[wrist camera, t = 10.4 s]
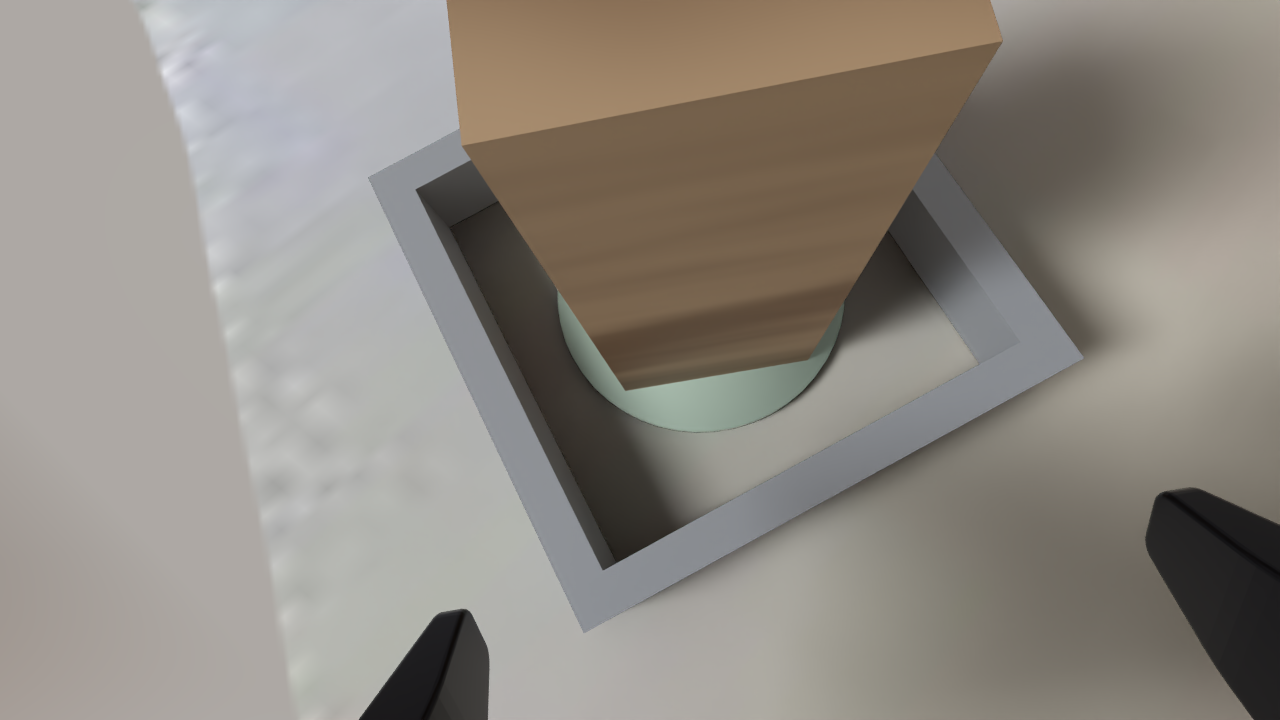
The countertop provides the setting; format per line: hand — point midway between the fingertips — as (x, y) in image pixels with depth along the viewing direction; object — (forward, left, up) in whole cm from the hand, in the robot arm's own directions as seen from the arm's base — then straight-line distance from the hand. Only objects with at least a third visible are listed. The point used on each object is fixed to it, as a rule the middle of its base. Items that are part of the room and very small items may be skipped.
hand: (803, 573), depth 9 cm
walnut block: (+7, -2, -9) cm, 11 cm away
